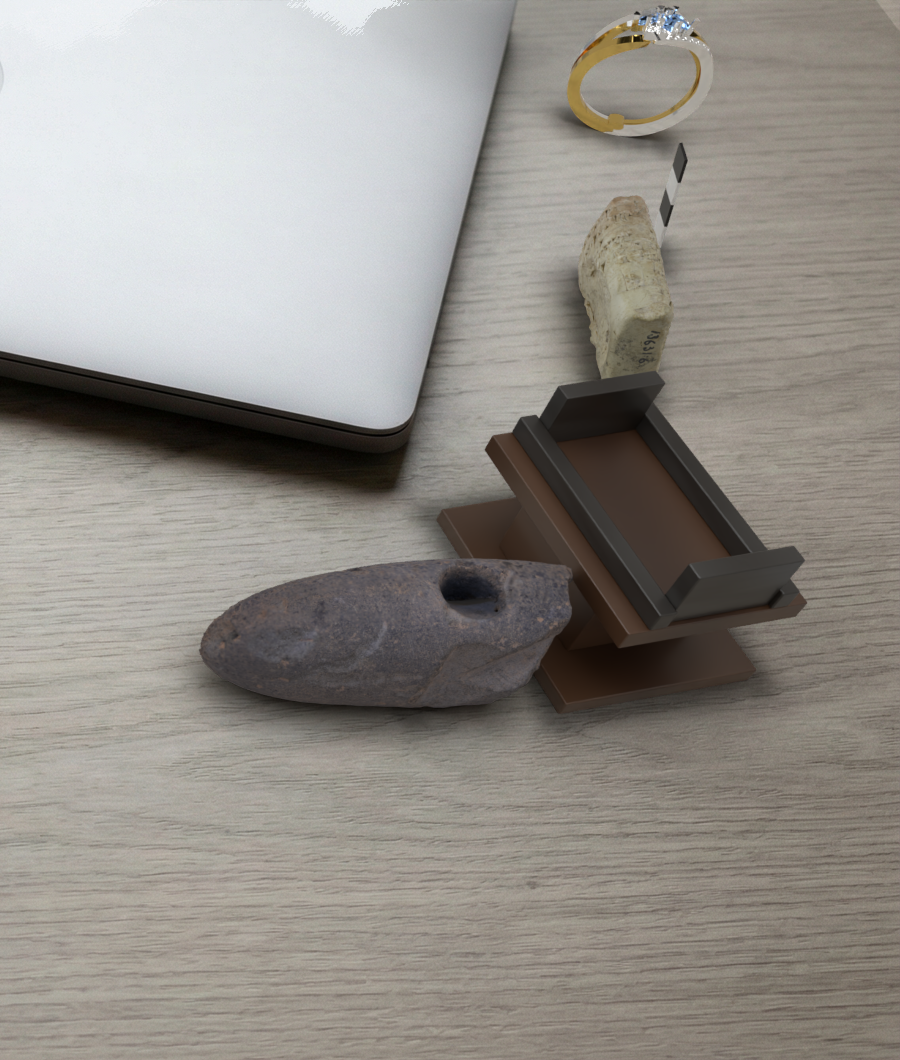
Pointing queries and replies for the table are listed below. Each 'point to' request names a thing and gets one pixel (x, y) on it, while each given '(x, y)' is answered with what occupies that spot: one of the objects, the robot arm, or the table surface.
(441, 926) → the table surface
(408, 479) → the table surface
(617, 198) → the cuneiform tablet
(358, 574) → the perforated stone tool
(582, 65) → the ring
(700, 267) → the table surface
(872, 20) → the table surface
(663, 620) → the stand
